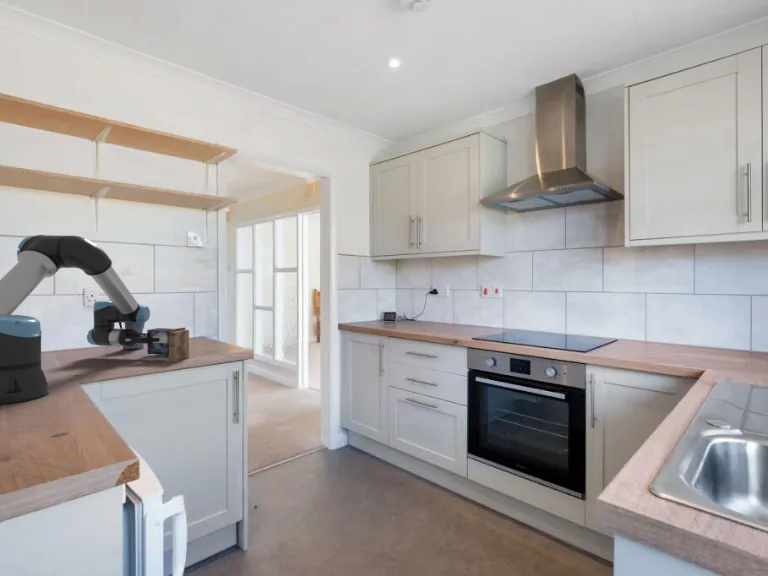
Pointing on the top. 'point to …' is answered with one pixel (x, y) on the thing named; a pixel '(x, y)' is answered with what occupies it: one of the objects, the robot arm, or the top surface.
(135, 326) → the moka pot
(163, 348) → the small box
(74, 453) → the top surface
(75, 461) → the top surface
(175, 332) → the bookend
